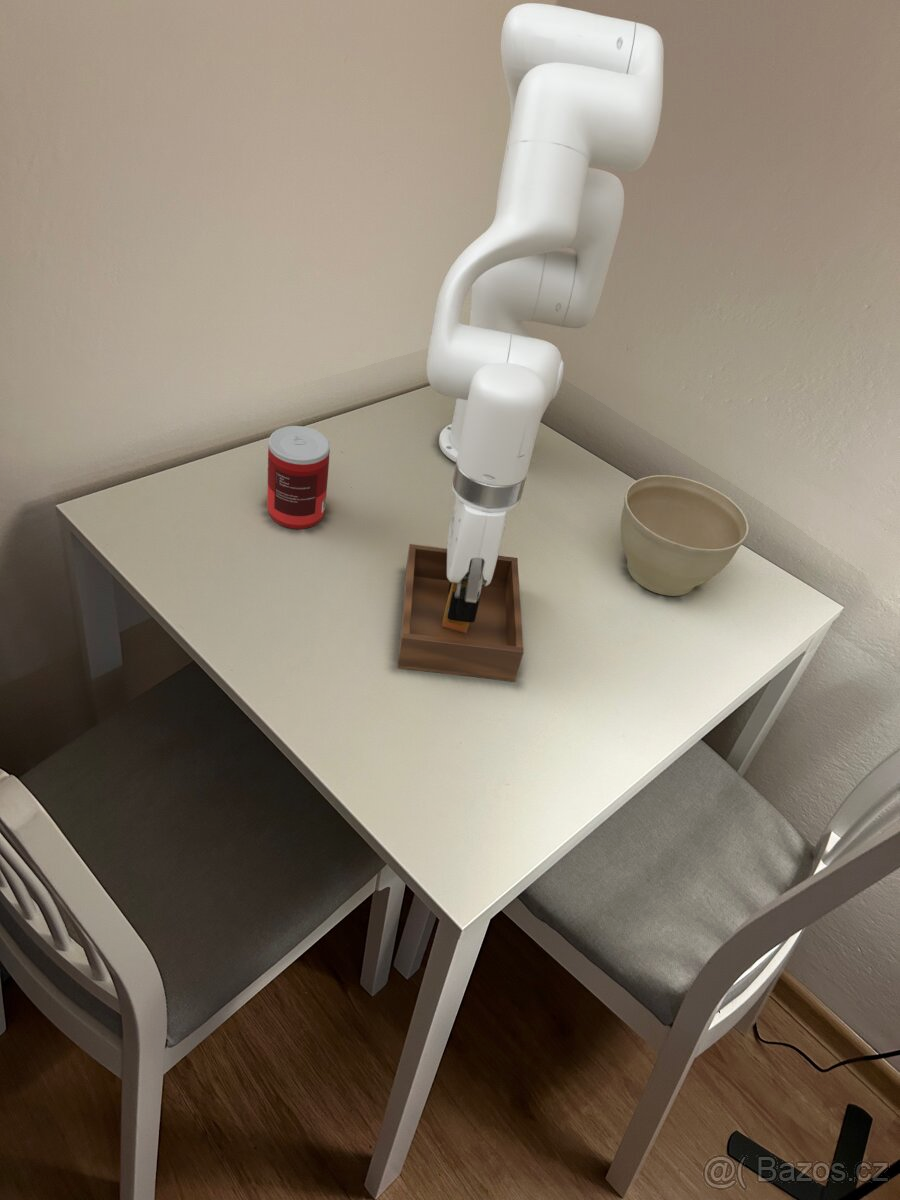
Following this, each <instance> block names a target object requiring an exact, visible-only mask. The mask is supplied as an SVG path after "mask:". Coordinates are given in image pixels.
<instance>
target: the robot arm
mask: <svg viewBox="0 0 900 1200" xmlns="http://www.w3.org/2000/svg"><path fill="white" fill-rule="evenodd" d="M500 35H501V36H500V59H501V65H502V70H503V71H502V72H503V75H504V80H505V83H506V89H507V93H508V97H509V107H510V109H509V110H510V119H509V127H508V133H507V139H506V144H505V149H504V155H503V159H502V164H501V165H502V166H501V170H500V171H501V172H500V177H499V184H498V188H497V195H496V206H495V216H494V219H493V221H492V223H491V224H490V226H489V227H488V229H486V230H485V232H483V233H482V234H481V235H480V236H479V237H477V238H476V239H475V240H474V241H472V242H471V243H470V244H469V245H468V246H467V247H466V248H465V249H464V250H463V251H462V252H461V253H460V255H458V257H457V258H456V260H455V261H454V262H453V264H452V265H451V267H450V268H449V270H448V272H447V274H446V275H445V277H444V278H443V281H442V284H441V286H440V289H439V293H438V297H437V300H436V304H435V305H436V306H435V311H434V317H433V322H432V328H431V334H430V339H429V344H428V351H427V356H426V357H427V358H426V377H427V381H428V383H429V386H430V387H431V388H432V389H433V390H434V391H435V392H436V393H438V394H440V395H442V396H444V397H448V398H452V399H456V400H455V404H454V411H453V417H452V423H450V424H448V425H447V426H445V427H444V428H443V429H442V430H441V431H440V433H439V437H438V445H439V448H440V450H441V451H442V453H443V454H444V455H445V456H446V457H447V458H448V459H449V460H451V461H452V462H454V463H455V466H454V471H453V476H452V482H451V491H452V493H453V495H454V496H455V502H454V507H453V511H452V516H451V520H450V523H449V527H448V534H447V544H446V545H447V546H446V549H447V578H448V580H449V581H450V584H449V589H448V593H450V589H451V585H452V582H455V583H457V584H456V590H455V592H454V591H453V592H452V597H451V601H450V606H449V611H448V619H449V620H455V621H463V622H474V621H475V618H476V613H477V609H478V605H479V601H480V592H481V588H482V583H483V584H484V586H487V585H489V584H490V582H491V580H492V577H493V573H494V570H495V566H496V562H497V558H498V555H499V553H500V549H501V545H502V541H503V535H504V530H505V529H506V527H505V526H506V522H507V517H508V512H509V511H511V510H513V509H515V508H516V507H517V506H518V505H519V504H520V502H521V500H522V496H523V492H524V488H525V484H526V481H527V476H528V472H529V469H530V468H529V467H530V463H531V460H532V456H533V453H534V452H533V451H534V447H535V444H536V441H537V436H538V433H539V429H540V425H541V422H542V418H543V416H544V414H545V412H546V410H547V408H548V407H549V404H550V403H551V401H553V400H554V399H555V398H556V397H557V395H558V392H559V389H560V388H561V385H562V381H563V379H564V378H563V377H564V370H565V367H564V366H565V363H564V360H562V359H563V358H562V355H561V352H560V350H559V348H558V347H557V346H556V345H554V344H553V343H552V342H549V341H547V340H544V339H540V338H535V337H531V335H530V333H529V330H528V329H527V326H526V324H525V323H524V321H525V322H535V323H541V324H546V325H551V326H556V327H561V328H566V329H581V328H584V327H586V326H588V324H590V323H591V321H592V320H593V318H594V316H595V314H596V311H597V309H598V307H599V302H600V300H601V296H602V293H603V290H604V285H605V281H606V278H607V275H608V271H609V268H610V265H611V260H612V257H613V254H614V251H615V250H614V249H615V246H616V243H617V240H618V236H619V232H620V228H621V225H622V220H623V215H624V214H623V213H624V210H625V209H624V207H625V191H624V186H623V183H622V182H621V180H620V179H619V177H617V176H616V175H615V174H613V173H611V172H609V171H607V170H603V169H599V168H594V167H589V166H590V165H591V166H592V165H593V166H597V167H601V168H607V169H612V170H618V171H623V172H634V171H637V170H639V169H641V167H642V166H643V165H644V164H645V163H646V162H647V160H648V159H649V158H650V157H649V156H650V155H651V153H652V150H653V148H654V145H655V143H656V138H657V135H658V132H659V127H660V123H661V114H662V109H663V99H664V60H665V59H664V57H665V53H664V52H665V51H664V50H665V49H664V42H663V38H662V36H661V35H660V33H659V32H658V30H657V29H655V28H654V27H652V26H650V25H648V24H645V23H641V22H636V21H633V20H626V19H623V18H622V19H621V18H617V17H611V16H608V15H601V14H597V13H592V12H589V11H585V10H580V9H576V8H570V7H565V6H561V5H554V4H547V3H540V2H539V3H538V2H537V3H535V2H526V3H522V4H518V5H516V6H514V7H512V8H511V9H510V10H509V11H508V12H507V14H506V16H505V18H504V21H503V23H502V27H501V34H500ZM564 248H567V249H572V250H573V251H574V252H572V251H567V250H562V249H564ZM470 289H471V299H470V300H471V303H470V316H469V325H468V324H463V323H462V322H461V316H462V310H463V307H464V303H465V300H466V298H467V295H468V293H469V291H470ZM463 581H466V582H467V587H466V588H465V587H462V583H463Z"/></svg>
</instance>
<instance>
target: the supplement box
mask: <svg viewBox="0 0 900 1200" xmlns="http://www.w3.org/2000/svg"><path fill="white" fill-rule="evenodd" d="M456 584H457V583H455V582H452V585H451V589H450V593H449V597H448V601H447V605H446V609H445V613H444V617H443V622H442V627H444V628H448V629H451V630H455V631H459V632H463V633H467V630H468V627H469V624H470V622H463V621H455V620H449V619H448V611H449V606H450V601H451V597H452V592H453V591H454V592H455V590H456ZM462 587H465V588H466V587H467V582H466V581H463V583H462Z"/></svg>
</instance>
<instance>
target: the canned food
mask: <svg viewBox="0 0 900 1200" xmlns="http://www.w3.org/2000/svg"><path fill="white" fill-rule="evenodd" d="M267 447H268V448H267V449H268V450H267V491H266V492H267V494H266V495H267V497H266V499H267V500H266V501H267V502H266V503H267V504H266V506H267V510H268V514H269V516H270V518H271V519H272V520H273V521H274V522H275V523H277V524H279V525H280V526H283V527H286V528H288V529H289V528H290V529H293V530H294V529H295V530H302V529H309V528H311V527H314V526H316V525H318V524H319V523H320V522H321V521H322V519H323V517H324V515H325V512H326V504H327V494H328V493H327V491H328V480H329V479H328V478H329V468H330V467H329V465H330V451H331V450H330V449H331V448H330V447H331V446H330V441H329V439H328V438H327V436H326V435H325V434H324V433H322V432H320V431H318V430H316V429H314V428H311V427H308V426H304V425H303V426H302V425H290V426H289V425H288V426H283V427H280V428H278V429H276V430H275V431H273V432H272V433H271V434H270V436H269V439H268V446H267Z"/></svg>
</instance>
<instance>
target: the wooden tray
mask: <svg viewBox="0 0 900 1200" xmlns="http://www.w3.org/2000/svg"><path fill="white" fill-rule="evenodd" d="M407 552H408V553H407V559H406V564H405V565H406V566H405V571H404V582H403V591H402V592H403V593H402V594H403V595H402V607H401V617H400V630H399V642H398V643H399V644H398V655H397V666H396V667H397V669H403V670H404V669H405V670H413V671H420V672H430V673H436V674H437V673H438V674H439V673H440V674H447V675H455V676H463V677H472V678H480V679H489V680H496V681H497V680H498V681H504V682H505V681H506V682H516V679H517V676H518V672H519V669H520V665H521V662H522V659H523V655H524V638H523V624H522V607H521V594H520V593H521V592H520V591H521V590H520V576H519V561H518V557H514V556H506V555H499V554H498V558H497V562H496V566H495V570H494V573H493V577H492V580H491V582H490V584H489V585H487V586H484V584H483V583H482V588H481V592H480V601H479V605H478V609H477V613H476V618H475V621H474V622H470V624H469V627H468V630H467V633H463V632H459V631H455V630H451V629H448V628H444V627H442V622H443V617H444V613H445V609H446V605H447V601H448V597H449V593H448V589H449V584H450V581H449V580H448V578H447V548H446V547H445V548H444V547H436V546H430V545H421V544H413V543H410V544H409V546H408V551H407Z"/></svg>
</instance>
